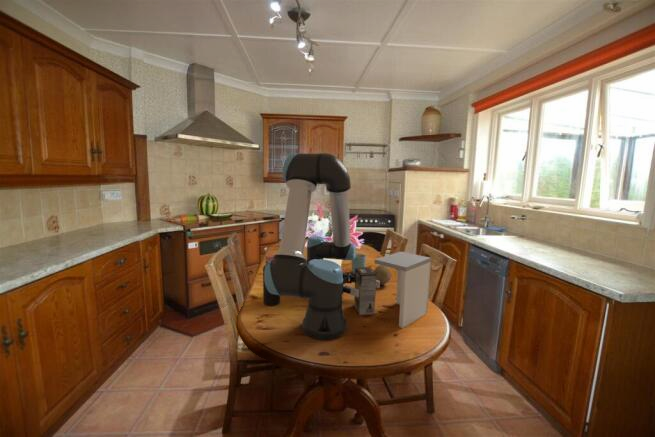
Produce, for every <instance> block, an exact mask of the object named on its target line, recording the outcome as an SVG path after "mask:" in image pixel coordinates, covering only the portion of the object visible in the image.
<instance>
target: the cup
mask: <svg viewBox="0 0 655 437" xmlns="http://www.w3.org/2000/svg"><path fill="white" fill-rule="evenodd" d="M366 266H367V255H366V254H362V253H356V255H355V259H354V260H351V271H352V272H351V273H354V274H355V268H361V267H366Z"/></svg>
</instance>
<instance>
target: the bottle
mask: <svg viewBox="0 0 655 437" xmlns="http://www.w3.org/2000/svg"><path fill="white" fill-rule="evenodd" d="M274 254H275V253H270V254H269V253H267V254H265V259H264V260H265V261H264V262H265V264H264V266H263V268H262V282H263V283H262V286H263V287H262V289H263V290H262V291H263V293H262V294H263V299H262V301H263V302H262V303H263V304H264V305H265V306H268V307H269V306H271V307H272V306H273V307H274V306H277V305H278V304H280V302H281V296H279V295H275V294H271V293H270V292H269V291H268V290H267V288H266V285H265V281H264V271H265V266H266V265H267V262H268V261H271V260H273V258H274Z"/></svg>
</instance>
